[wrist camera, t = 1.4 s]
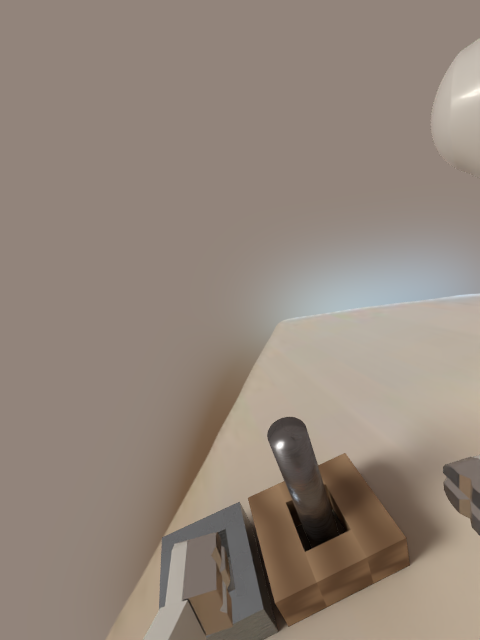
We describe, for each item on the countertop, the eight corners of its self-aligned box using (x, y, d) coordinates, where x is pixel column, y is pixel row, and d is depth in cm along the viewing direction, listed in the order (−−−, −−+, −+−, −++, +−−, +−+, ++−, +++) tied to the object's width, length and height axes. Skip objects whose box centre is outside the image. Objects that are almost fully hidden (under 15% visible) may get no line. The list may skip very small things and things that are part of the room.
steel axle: (330, 518, 30) (296, 411, 24) (347, 550, 27) (313, 439, 21) (304, 530, 30) (262, 426, 23) (318, 565, 27) (275, 456, 20)
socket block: (251, 524, 32) (239, 501, 30) (278, 631, 24) (263, 608, 22) (178, 559, 31) (162, 537, 29) (180, 681, 23) (156, 661, 21)
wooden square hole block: (351, 478, 33) (345, 453, 31) (409, 565, 25) (406, 537, 23) (259, 521, 32) (247, 497, 30) (288, 626, 24) (274, 603, 22)
